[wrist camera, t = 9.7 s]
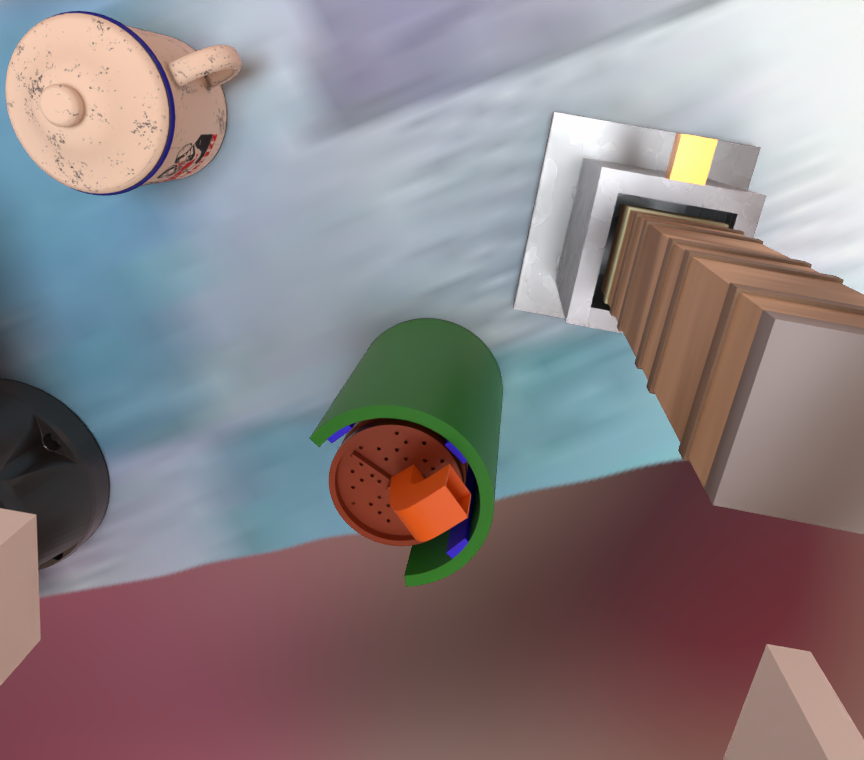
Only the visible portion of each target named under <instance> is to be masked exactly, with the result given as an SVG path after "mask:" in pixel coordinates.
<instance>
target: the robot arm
mask: <svg viewBox="0 0 864 760" xmlns="http://www.w3.org/2000/svg"><path fill="white" fill-rule="evenodd" d="M108 498H109V481H108V474H107V469H106V465H105V462H104V459H103V456H102V454H101V452H100V449H99V447H98V445H97V444H96V442H95V440H94V438H93V437H92V435H91V434H90V432H89V431H88V430H87V428H86V427H85V426H84V424H83V423H82V422H81V421H80V420H79V419H78V418H77V417H76V416H75V415H74V414H73V413H72V412H71V411H70V410H69V409H68V408H67V407H65V406H64V405H63V404H61V403H60V402H59V401H57V400H56V399H54V398H53V397H51V396H50V395H48V394H46V393H44V392H42V391H40V390H38V389H36V388H34V387H31V386H28V385H26V384H23V383H19V382H15V381H11V380H4V379H0V685H1V684H2V683H3V682H4V681H5V680H6V679H7V677H8V676H9V675H10V674H11V673H12V672H13V671H14V669H15V668H16V667H17V666H18V665H19V664H20V663H21V661H22V660H23V659H24V658H25V657H26V656H27V655H28V653H29V652H30V651H31V650H32V649H33V648H34V647H35V645H36V644H37V643H38V642H39V641H40V640H41V638H40V608H39V607H40V606H39V577H38V570H39V569H43V568H46V567H49V566H51V565H53V564H56V563H58V562H60V561H62V560H63V559H65V558H66V557H68V556H69V555H71V554H72V553H73V552H74V551H76V550H77V549H78V548H79V547H80V546H81V545H82V544H83V543H84V542H85V541H86V540H87V539H88V538H89V537H90V536H91V535H92V534H93V533H94V532H95V530H96V529H97V528H98V526H99V525H100V523H101V521H102V519H103V517H104V514H105V511H106V508H107V504H108ZM723 760H864V739H863V738H862V736H861V735H860V733H859V731H858V730H857V728H856V726H855V725H854V723H853V721H852V720H851V718H850V716H849V715H848V713H847V711H846V710H845V708H844V706H843V705H842V703H841V701H840V700H839V698H838V697H837V695H836V693H835V692H834V690H833V688H832V687H831V685H830V683H829V682H828V680H827V678H826V677H825V675H824V673H823V672H822V670H821V668H820V667H819V665H818V664H817V662H816V660H815V658H814V657H813V655H812V654H811V652H809V651H803V650H797V649H792V648H786V647H781V646H775V645H769V644H767V645H766V648H765V651H764V653H763V656H762V658H761V661H760V664H759V666H758V669H757V671H756V674H755V677H754V679H753V682H752V685H751V687H750V690H749V693H748V695H747V698H746V701H745V703H744V706H743V708H742V711H741V714H740V716H739V719H738V722H737V724H736V727H735V730H734V732H733V735H732V737H731V740H730V743H729V746H728V748H727V751H726V754H725V756H724V759H723Z"/></svg>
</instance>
